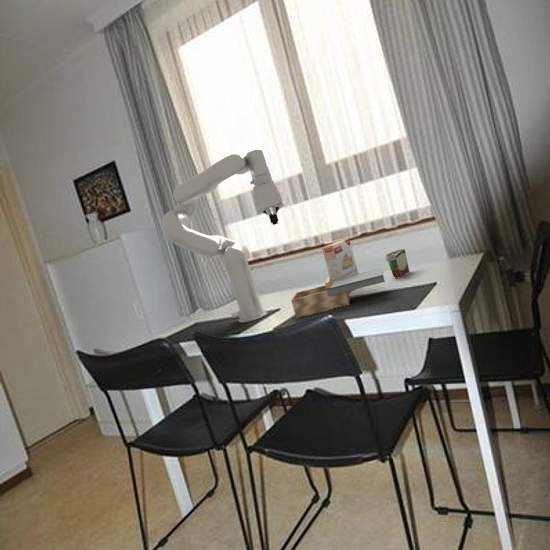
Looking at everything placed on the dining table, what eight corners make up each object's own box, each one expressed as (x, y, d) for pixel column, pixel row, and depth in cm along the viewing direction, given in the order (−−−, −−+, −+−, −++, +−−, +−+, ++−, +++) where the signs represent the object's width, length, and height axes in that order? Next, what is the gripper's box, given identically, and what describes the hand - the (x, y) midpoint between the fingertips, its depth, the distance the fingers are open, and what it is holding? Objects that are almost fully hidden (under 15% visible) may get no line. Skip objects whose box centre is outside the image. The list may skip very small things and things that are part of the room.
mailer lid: (328, 296, 168) (324, 283, 168) (331, 287, 182) (328, 276, 182) (384, 281, 163) (381, 269, 163) (383, 274, 178) (380, 263, 177)
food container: (397, 273, 201) (391, 251, 199) (410, 271, 197) (404, 248, 196) (386, 281, 191) (380, 257, 190) (400, 278, 187) (394, 255, 186)
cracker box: (347, 295, 186) (333, 245, 183) (334, 297, 190) (320, 247, 187) (362, 285, 196) (349, 237, 194) (350, 287, 200) (337, 240, 198)
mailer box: (296, 317, 173) (291, 300, 172) (301, 309, 185) (296, 292, 184) (349, 305, 168) (343, 286, 167) (350, 297, 181) (345, 280, 180)
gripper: (243, 185, 186) (256, 230, 188) (278, 174, 182) (291, 219, 185) (247, 185, 193) (260, 228, 195) (281, 175, 190) (294, 218, 192)
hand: (275, 224), depth 190 cm, fingers closed
